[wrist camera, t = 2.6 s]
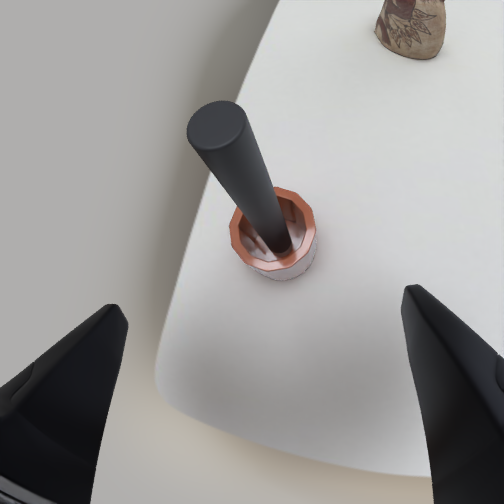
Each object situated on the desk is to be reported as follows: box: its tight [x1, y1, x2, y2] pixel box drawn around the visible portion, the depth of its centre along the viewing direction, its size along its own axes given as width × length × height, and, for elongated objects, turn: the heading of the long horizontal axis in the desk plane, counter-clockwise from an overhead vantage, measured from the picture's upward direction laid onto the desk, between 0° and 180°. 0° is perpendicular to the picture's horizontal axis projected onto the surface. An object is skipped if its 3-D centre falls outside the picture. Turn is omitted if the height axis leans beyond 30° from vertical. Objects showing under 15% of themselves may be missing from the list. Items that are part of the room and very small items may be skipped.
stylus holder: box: [229, 187, 316, 280], centre depth 18 cm, size 4×4×5 cm
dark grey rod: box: [187, 101, 293, 257], centre depth 13 cm, size 2×2×14 cm
